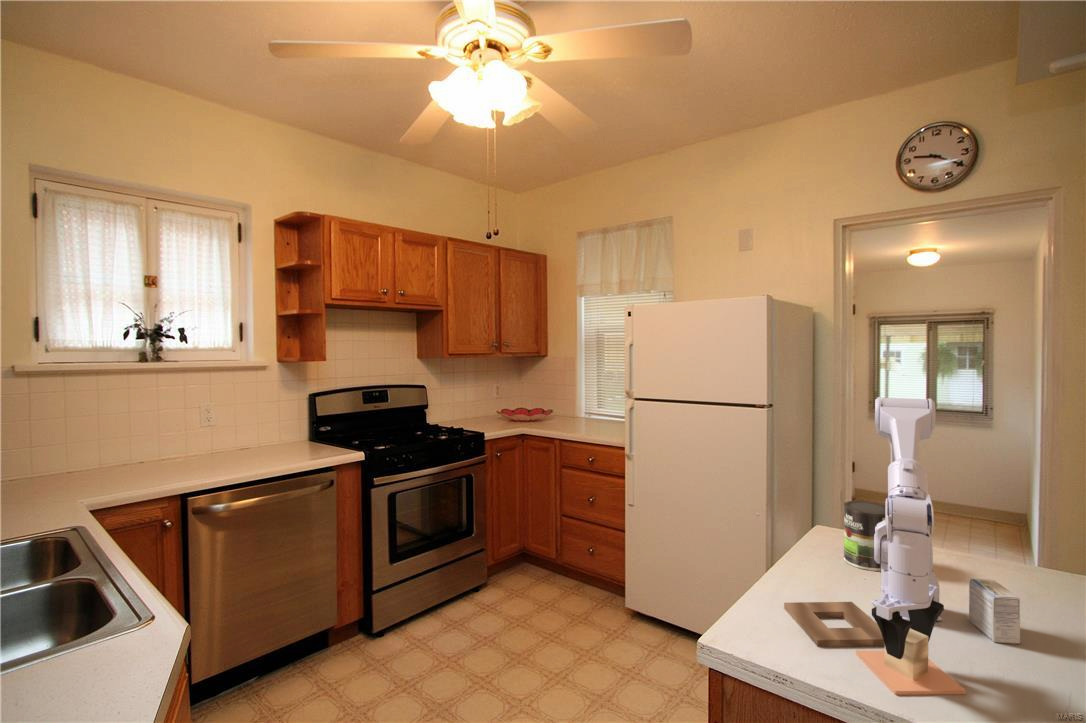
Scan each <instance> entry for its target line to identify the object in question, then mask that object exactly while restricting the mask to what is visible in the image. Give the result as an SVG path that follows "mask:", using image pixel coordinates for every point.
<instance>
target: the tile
mask: <svg viewBox="0 0 1086 723" xmlns="http://www.w3.org/2000/svg"><path fill="white" fill-rule="evenodd" d="M855 655H856V656H857V658H859V659H860V660H861V662H863V663H864V664H865V666H867V668H869V669H870V671H872V673H873V674H874V675H875V676H876V677H877V678H878V679H879V680H880V681H881V682H882V683H883V684H884V685H885V686H886V688H888V689H889V690H890V691H891V692H892V693H893V694H894V696H896V695H897V696H903V695H905V696H907V695H908V696H913V695H915V696H916V695H919V696H920V695H921V696H922V695H924V696H925V695H966V694H967V693H966V692H967V690H966V689H965V687H963V686H961V685H960V684H959V683H958V682H957V681H955V679H953V678H952V677H951V676H950V675H948V674H947V673H946V672H945V671H943V669H941V668H940V667H939V666H938V665H936V664H935V663H934V662H933V661H932V660H930V658H928V672H927V673H925V674H923V675H922V676H920V677H918V678H916V679H915V680H912V679H910V678H908V677H906V676H904V675H902V674H900V673H898V672H896V671H894V670H892V669H890V668H888V667H886V666H884V659H885V649H884V650H855Z"/></svg>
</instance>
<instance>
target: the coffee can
mask: <svg viewBox="0 0 1086 723" xmlns="http://www.w3.org/2000/svg"><path fill="white" fill-rule="evenodd" d="M843 508H844V510H843V511H844V516H843V517H844V518H843V519H844V520H843V522H844V525H843V530H844V531H843V561H844V562H845V563H846V564H847V565H849V566H852V567H854V568H857V569H861V570H865V571H870V572H881V553H880V564H878V563H877V562H876V561H875V560H874V534H875V527H876V526H877V524H878V523H880V522H882V521H884V520H885V504H882V503H877V502H874V501H868V500H849V501H845V502H844V503H843ZM880 542H881V540H880Z"/></svg>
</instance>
